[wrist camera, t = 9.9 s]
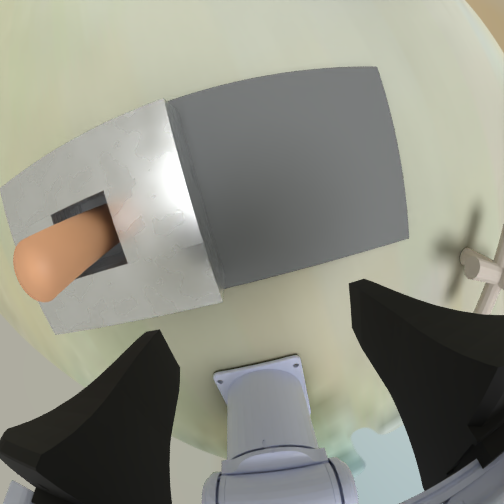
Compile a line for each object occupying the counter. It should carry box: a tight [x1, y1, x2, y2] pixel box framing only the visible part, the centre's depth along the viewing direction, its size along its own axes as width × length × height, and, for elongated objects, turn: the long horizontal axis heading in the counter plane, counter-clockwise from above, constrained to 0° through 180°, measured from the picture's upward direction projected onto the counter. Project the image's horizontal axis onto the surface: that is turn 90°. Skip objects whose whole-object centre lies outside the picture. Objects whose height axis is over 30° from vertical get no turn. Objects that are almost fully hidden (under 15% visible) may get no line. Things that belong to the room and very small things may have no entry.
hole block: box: [0, 98, 225, 335], centre depth 16 cm, size 12×14×4 cm
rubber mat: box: [81, 67, 409, 289], centre depth 18 cm, size 14×30×1 cm, turn 104°
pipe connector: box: [460, 225, 504, 315], centre depth 16 cm, size 10×10×10 cm
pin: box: [13, 203, 120, 302], centre depth 13 cm, size 3×3×10 cm
